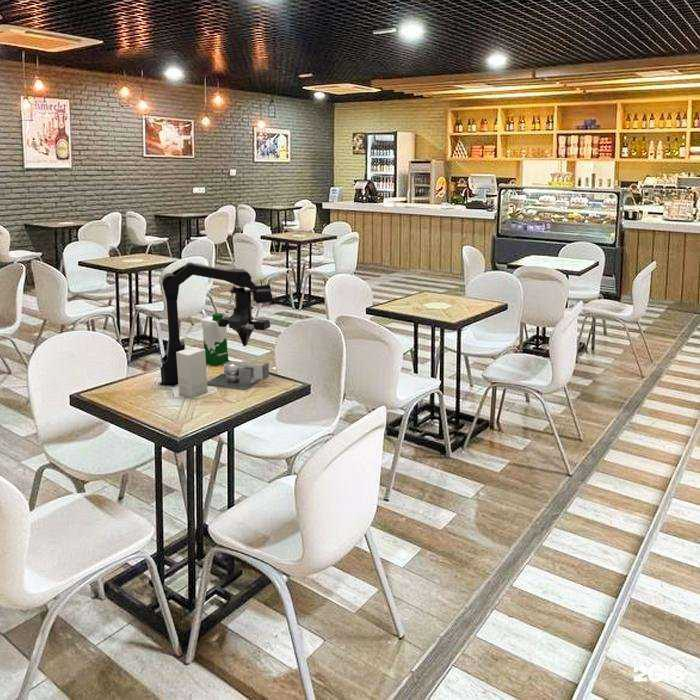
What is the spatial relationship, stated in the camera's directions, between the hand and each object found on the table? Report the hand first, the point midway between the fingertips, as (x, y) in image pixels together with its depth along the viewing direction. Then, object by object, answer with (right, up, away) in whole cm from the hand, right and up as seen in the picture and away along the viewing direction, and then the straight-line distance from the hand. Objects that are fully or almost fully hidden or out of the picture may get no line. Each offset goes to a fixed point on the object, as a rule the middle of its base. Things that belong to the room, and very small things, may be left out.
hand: (245, 345), depth 268 cm
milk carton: (-15, -7, +21) cm, 27 cm away
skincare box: (-16, -17, -15) cm, 28 cm away
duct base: (-4, -13, -4) cm, 14 cm away
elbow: (+1, -11, -6) cm, 13 cm away
